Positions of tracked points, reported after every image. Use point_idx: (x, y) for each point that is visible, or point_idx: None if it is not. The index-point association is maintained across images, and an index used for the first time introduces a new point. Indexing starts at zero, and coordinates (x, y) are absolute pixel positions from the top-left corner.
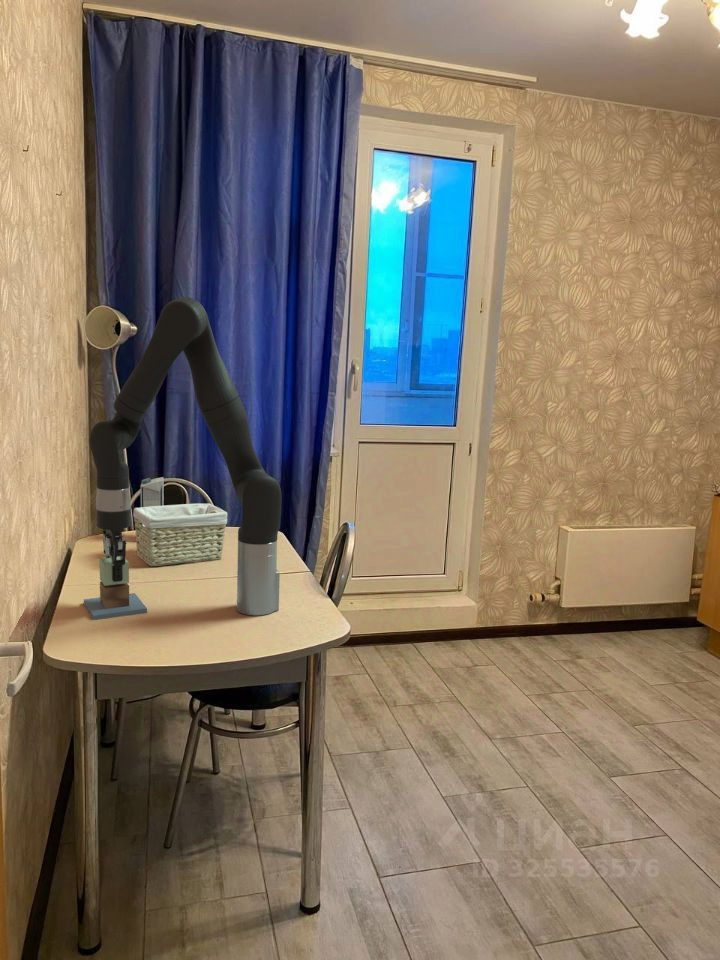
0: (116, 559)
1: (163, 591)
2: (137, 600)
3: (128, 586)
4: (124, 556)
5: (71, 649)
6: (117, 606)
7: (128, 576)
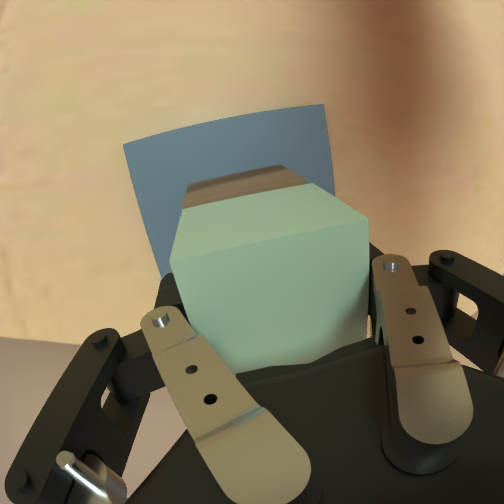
0: (473, 318)
1: (84, 44)
2: (220, 131)
3: (305, 181)
4: (497, 279)
5: None
6: None
7: (324, 193)
